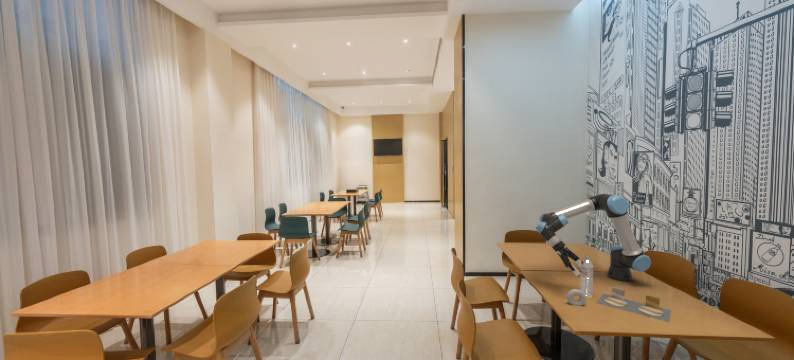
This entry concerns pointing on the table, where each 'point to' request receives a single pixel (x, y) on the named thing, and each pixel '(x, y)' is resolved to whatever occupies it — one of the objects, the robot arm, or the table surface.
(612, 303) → the white tag coaster
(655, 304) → the ochre tag coaster
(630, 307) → the board
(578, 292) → the donut
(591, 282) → the water bottle
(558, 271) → the table surface
